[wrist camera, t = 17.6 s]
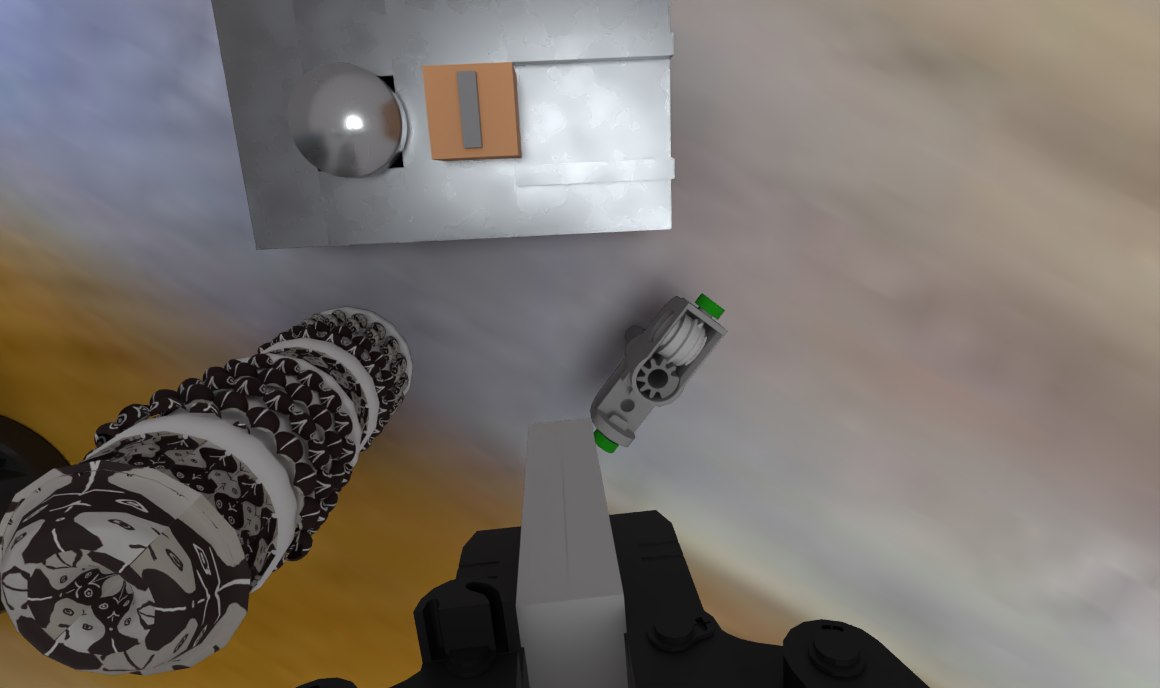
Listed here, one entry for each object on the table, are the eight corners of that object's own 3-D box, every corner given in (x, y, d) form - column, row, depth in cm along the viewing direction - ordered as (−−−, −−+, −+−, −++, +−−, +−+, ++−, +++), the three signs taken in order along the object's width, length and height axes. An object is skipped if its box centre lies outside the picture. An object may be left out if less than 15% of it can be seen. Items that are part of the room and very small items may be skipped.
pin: (360, 180, 39) (297, 180, 30) (349, 94, 38) (278, 64, 28) (441, 176, 40) (404, 175, 30) (433, 90, 38) (391, 59, 29)
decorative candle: (344, 272, 41) (42, 401, 17) (445, 366, 43) (304, 601, 19) (257, 363, 43) (-135, 602, 18) (359, 450, 45) (126, 769, 20)
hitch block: (317, 235, 41) (247, 251, 31) (286, 37, 37) (198, -10, 28) (648, 219, 41) (674, 230, 32) (645, 22, 38) (672, -29, 29)
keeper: (443, 161, 31) (429, 158, 28) (435, 76, 30) (418, 63, 27) (521, 157, 31) (517, 154, 28) (516, 73, 30) (510, 59, 27)
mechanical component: (576, 380, 44) (582, 437, 34) (664, 264, 42) (696, 289, 32) (609, 403, 44) (624, 465, 35) (697, 289, 42) (739, 321, 33)
